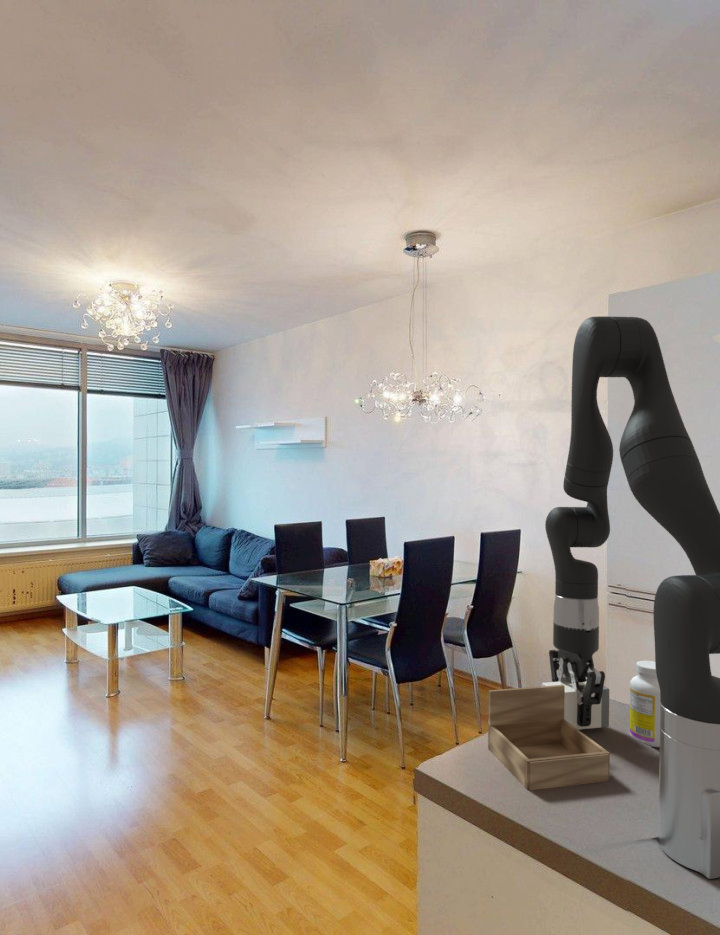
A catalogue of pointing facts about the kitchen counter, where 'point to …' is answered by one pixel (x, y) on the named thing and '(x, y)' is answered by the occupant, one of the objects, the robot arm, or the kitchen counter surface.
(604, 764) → the wooden box
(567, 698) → the capped box
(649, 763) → the kitchen counter surface
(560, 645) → the robot arm
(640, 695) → the supplement bottle
